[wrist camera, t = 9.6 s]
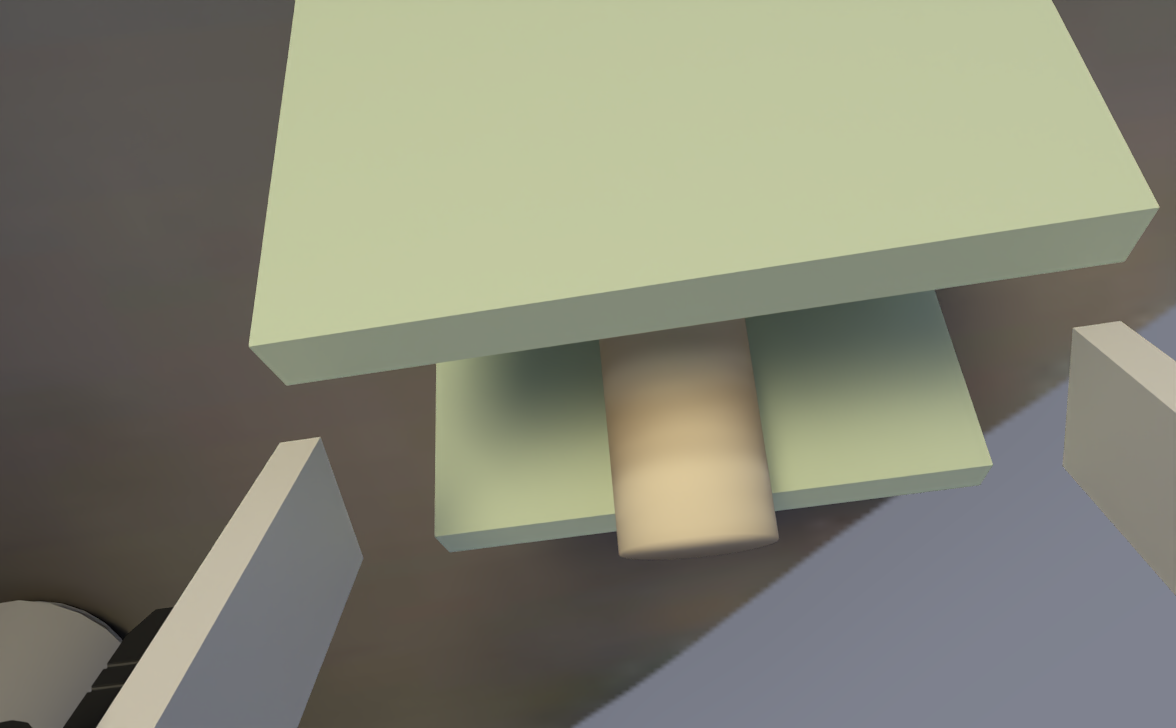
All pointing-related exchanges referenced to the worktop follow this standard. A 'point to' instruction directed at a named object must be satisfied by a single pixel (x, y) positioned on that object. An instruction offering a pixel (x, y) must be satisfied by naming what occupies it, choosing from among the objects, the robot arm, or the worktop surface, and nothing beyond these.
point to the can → (49, 660)
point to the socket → (675, 222)
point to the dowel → (686, 443)
